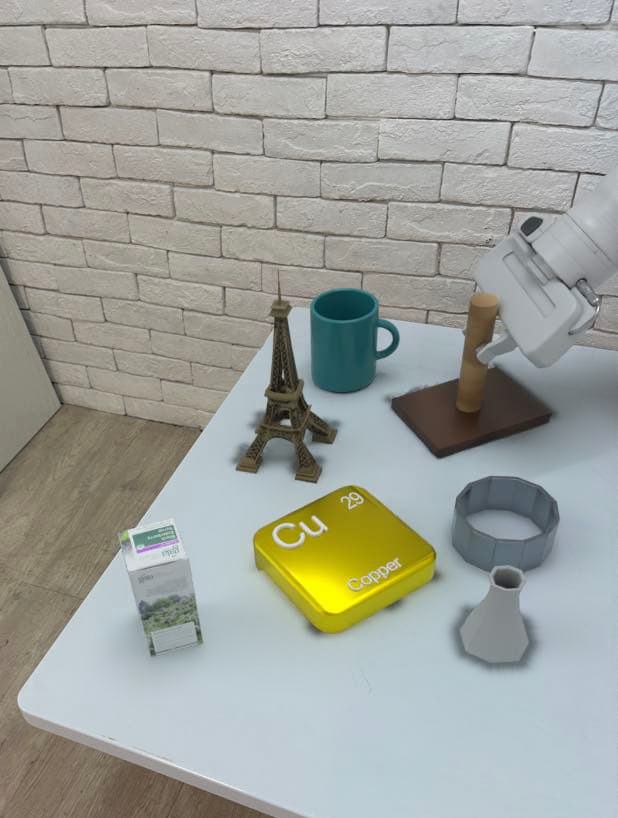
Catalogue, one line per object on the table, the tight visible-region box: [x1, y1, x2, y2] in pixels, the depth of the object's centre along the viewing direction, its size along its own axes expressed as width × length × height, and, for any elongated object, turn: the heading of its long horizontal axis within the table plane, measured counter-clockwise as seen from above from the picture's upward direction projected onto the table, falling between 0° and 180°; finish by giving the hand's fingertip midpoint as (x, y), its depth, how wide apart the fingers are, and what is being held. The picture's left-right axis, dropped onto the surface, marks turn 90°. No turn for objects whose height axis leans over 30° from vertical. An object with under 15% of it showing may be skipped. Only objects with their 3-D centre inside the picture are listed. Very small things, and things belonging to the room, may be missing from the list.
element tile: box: [252, 484, 437, 635], centre depth 86 cm, size 15×15×5 cm
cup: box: [309, 287, 401, 393], centre depth 110 cm, size 9×12×11 cm
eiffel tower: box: [235, 268, 338, 484], centre depth 95 cm, size 11×11×25 cm
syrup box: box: [117, 517, 204, 657], centre depth 79 cm, size 6×6×14 cm
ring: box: [450, 475, 561, 574], centre depth 86 cm, size 10×10×6 cm
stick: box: [456, 292, 499, 412], centre depth 99 cm, size 3×3×15 cm
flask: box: [459, 565, 530, 664], centre depth 76 cm, size 7×7×10 cm
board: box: [390, 365, 552, 459], centre depth 104 cm, size 16×12×2 cm
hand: (472, 347), depth 98 cm, fingers open, 3 cm apart
